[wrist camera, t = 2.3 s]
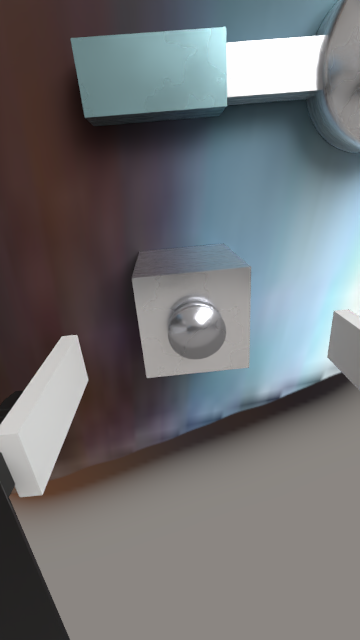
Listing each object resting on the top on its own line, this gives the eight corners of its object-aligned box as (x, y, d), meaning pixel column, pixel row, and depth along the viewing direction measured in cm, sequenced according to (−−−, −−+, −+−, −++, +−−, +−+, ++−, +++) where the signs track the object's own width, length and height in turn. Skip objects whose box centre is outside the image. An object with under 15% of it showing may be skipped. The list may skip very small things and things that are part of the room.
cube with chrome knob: (149, 327, 25) (146, 388, 17) (139, 251, 22) (130, 283, 15) (225, 320, 25) (253, 376, 18) (224, 243, 22) (256, 271, 15)
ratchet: (102, 175, 20) (73, 168, 13) (71, -7, 16) (8, -146, 9) (426, 147, 21) (558, 127, 14) (467, -34, 17) (676, -183, 10)
